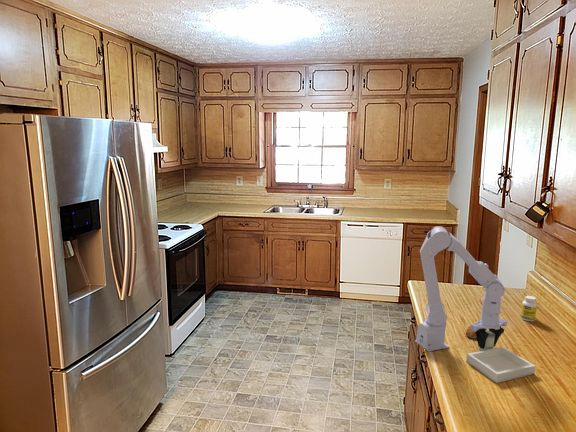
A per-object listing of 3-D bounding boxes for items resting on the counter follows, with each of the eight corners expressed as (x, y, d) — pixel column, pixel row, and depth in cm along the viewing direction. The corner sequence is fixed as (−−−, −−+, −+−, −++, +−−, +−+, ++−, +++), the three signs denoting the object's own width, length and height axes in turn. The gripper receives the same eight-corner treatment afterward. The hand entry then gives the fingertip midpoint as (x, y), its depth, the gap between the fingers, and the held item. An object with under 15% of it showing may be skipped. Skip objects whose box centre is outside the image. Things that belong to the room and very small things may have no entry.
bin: (496, 382, 131) (497, 374, 130) (466, 361, 143) (467, 353, 142) (534, 374, 136) (535, 365, 135) (502, 354, 148) (503, 346, 147)
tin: (485, 355, 147) (488, 337, 146) (476, 349, 151) (478, 331, 150) (496, 353, 149) (498, 335, 147) (486, 347, 153) (488, 329, 151)
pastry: (477, 342, 157) (478, 332, 156) (460, 335, 162) (461, 326, 161) (488, 334, 163) (489, 325, 162) (472, 328, 168) (473, 319, 167)
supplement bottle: (521, 320, 176) (524, 298, 174) (519, 315, 181) (522, 294, 179) (535, 322, 174) (539, 300, 172) (533, 317, 179) (536, 296, 177)
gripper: (483, 318, 141) (478, 355, 144) (515, 313, 146) (511, 348, 148) (467, 310, 147) (464, 345, 150) (499, 305, 152) (495, 339, 155)
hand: (486, 346), depth 150 cm, fingers closed on tin, 4 cm apart
